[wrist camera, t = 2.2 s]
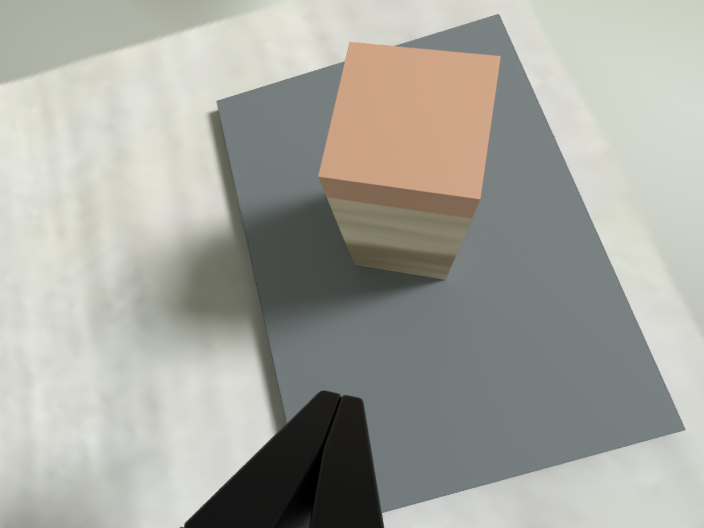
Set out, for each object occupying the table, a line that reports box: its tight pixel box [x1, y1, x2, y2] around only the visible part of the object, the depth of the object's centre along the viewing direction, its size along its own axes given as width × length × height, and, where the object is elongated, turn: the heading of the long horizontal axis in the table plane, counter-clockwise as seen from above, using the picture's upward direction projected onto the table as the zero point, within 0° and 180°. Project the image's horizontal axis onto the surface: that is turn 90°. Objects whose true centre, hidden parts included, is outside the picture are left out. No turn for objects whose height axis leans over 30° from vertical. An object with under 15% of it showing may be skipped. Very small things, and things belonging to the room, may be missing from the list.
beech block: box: [318, 42, 501, 280], centre depth 18 cm, size 4×4×10 cm
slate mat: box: [217, 14, 685, 513], centre depth 23 cm, size 22×16×1 cm
